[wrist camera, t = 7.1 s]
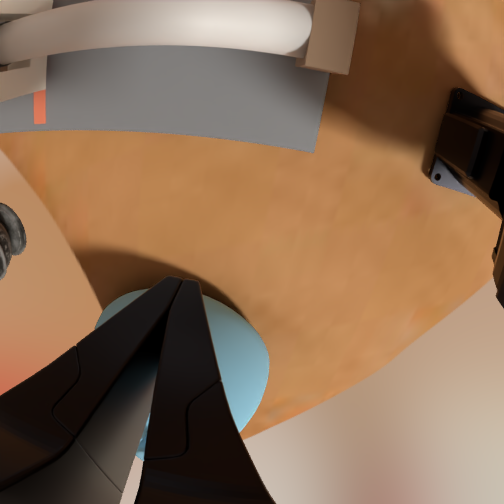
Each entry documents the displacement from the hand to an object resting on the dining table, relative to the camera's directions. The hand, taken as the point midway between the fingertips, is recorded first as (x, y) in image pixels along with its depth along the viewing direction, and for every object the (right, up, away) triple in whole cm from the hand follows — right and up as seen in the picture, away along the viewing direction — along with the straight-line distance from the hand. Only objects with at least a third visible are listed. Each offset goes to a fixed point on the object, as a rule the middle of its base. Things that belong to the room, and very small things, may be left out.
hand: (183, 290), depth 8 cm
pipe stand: (-5, +14, +6) cm, 15 cm away
